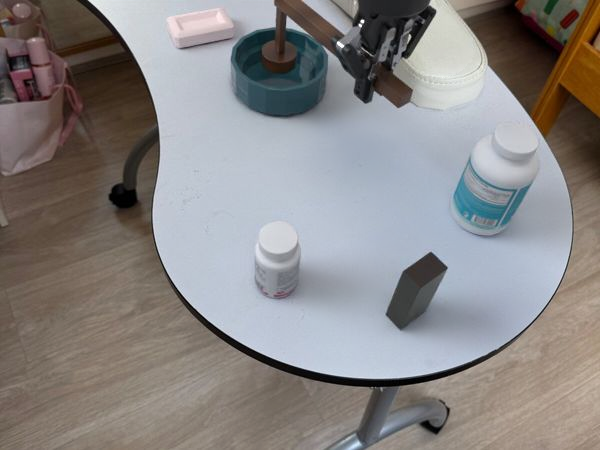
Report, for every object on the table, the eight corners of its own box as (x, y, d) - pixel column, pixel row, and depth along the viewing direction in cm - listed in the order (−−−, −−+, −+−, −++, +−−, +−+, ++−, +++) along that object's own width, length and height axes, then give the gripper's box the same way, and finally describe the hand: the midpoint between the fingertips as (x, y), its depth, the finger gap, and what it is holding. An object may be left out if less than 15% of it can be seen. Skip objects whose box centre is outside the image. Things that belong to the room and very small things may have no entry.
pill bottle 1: (300, 266, 66) (306, 222, 60) (293, 302, 64) (298, 261, 57) (259, 258, 67) (260, 214, 60) (250, 294, 64) (250, 252, 57)
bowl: (338, 74, 86) (342, 46, 82) (300, 130, 79) (303, 102, 75) (258, 45, 89) (259, 17, 85) (215, 97, 82) (213, 69, 78)
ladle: (254, 59, 81) (255, -12, 72) (282, 47, 83) (286, -24, 74) (373, 169, 70) (391, 101, 62) (402, 152, 72) (423, 84, 64)
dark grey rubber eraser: (384, 314, 63) (402, 271, 56) (410, 295, 65) (431, 250, 58) (400, 330, 62) (419, 288, 55) (426, 310, 64) (448, 267, 57)
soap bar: (235, 38, 89) (234, 25, 88) (177, 50, 87) (175, 36, 85) (223, 18, 92) (223, 4, 90) (167, 29, 90) (165, 15, 88)
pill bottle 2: (489, 185, 75) (530, 106, 65) (519, 230, 71) (567, 155, 61) (437, 197, 74) (470, 118, 63) (465, 244, 70) (504, 169, 59)
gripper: (374, -6, 49) (347, 138, 63) (481, -52, 55) (434, 90, 69) (318, -47, 53) (304, 99, 67) (424, -87, 58) (391, 56, 72)
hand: (370, 94), depth 68 cm, fingers closed on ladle
